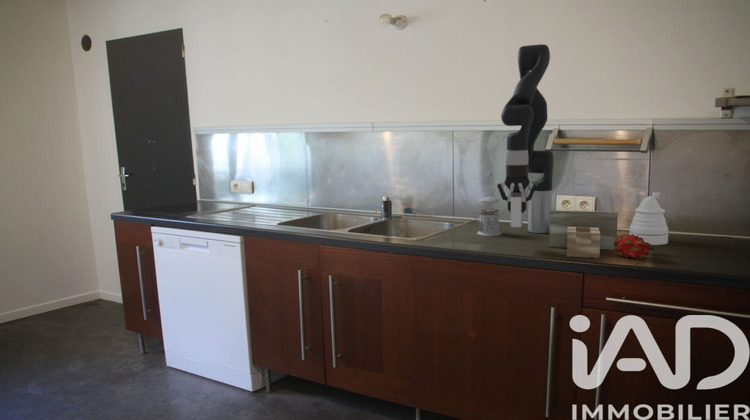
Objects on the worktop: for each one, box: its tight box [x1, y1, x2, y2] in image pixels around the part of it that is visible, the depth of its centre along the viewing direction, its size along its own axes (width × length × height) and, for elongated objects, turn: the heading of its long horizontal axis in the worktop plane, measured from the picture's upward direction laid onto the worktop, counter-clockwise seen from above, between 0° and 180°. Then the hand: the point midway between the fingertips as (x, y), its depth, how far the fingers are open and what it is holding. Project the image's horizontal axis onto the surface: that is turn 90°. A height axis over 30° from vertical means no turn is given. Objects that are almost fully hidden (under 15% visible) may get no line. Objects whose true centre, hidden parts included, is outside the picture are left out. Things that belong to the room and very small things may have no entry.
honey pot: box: [628, 191, 669, 246], centre depth 199 cm, size 13×13×18 cm
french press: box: [473, 172, 502, 237], centre depth 221 cm, size 10×12×25 cm
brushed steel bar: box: [510, 192, 524, 228], centre depth 191 cm, size 7×4×12 cm, turn 160°
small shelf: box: [548, 210, 619, 259], centre depth 184 cm, size 16×22×13 cm
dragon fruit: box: [613, 233, 654, 260], centre depth 175 cm, size 8×8×12 cm
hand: (516, 211), depth 191 cm, fingers closed on brushed steel bar, 3 cm apart
